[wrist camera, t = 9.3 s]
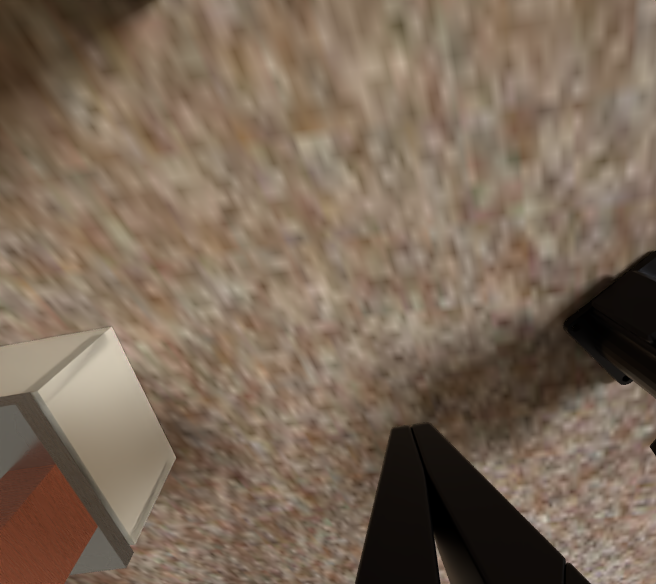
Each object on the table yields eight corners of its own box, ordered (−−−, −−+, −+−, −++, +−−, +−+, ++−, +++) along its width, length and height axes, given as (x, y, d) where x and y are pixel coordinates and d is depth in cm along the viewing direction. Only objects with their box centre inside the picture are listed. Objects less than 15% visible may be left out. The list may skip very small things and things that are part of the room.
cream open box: (111, 326, 22) (37, 391, 16) (176, 457, 26) (135, 544, 20) (-67, 358, 22) (-195, 430, 17) (24, 480, 27) (-55, 568, 21)
